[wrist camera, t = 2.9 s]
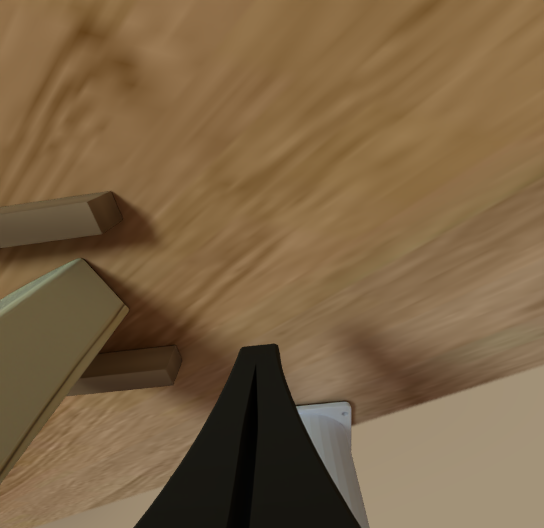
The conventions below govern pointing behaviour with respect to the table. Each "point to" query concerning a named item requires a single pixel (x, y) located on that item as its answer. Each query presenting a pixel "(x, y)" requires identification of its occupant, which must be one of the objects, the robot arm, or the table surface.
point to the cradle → (79, 223)
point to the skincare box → (49, 348)
